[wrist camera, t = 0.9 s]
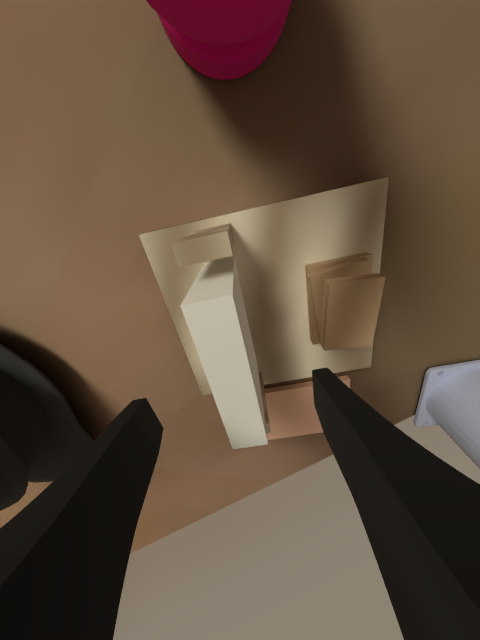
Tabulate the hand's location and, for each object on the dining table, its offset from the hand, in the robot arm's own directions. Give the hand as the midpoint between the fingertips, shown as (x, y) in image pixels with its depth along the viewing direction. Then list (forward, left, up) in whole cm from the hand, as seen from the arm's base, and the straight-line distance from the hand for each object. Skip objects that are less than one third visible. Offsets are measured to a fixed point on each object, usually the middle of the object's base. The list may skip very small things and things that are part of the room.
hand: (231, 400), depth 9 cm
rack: (-3, 0, -9) cm, 9 cm away
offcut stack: (-8, 0, -8) cm, 11 cm away
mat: (-3, +12, -9) cm, 15 cm away
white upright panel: (0, 0, -8) cm, 8 cm away
